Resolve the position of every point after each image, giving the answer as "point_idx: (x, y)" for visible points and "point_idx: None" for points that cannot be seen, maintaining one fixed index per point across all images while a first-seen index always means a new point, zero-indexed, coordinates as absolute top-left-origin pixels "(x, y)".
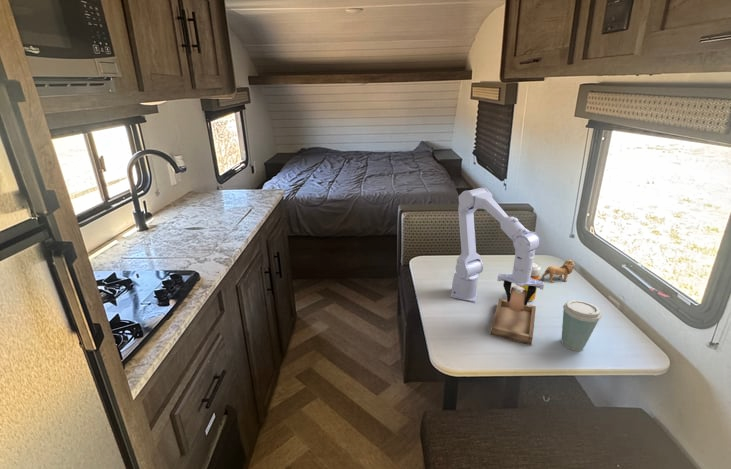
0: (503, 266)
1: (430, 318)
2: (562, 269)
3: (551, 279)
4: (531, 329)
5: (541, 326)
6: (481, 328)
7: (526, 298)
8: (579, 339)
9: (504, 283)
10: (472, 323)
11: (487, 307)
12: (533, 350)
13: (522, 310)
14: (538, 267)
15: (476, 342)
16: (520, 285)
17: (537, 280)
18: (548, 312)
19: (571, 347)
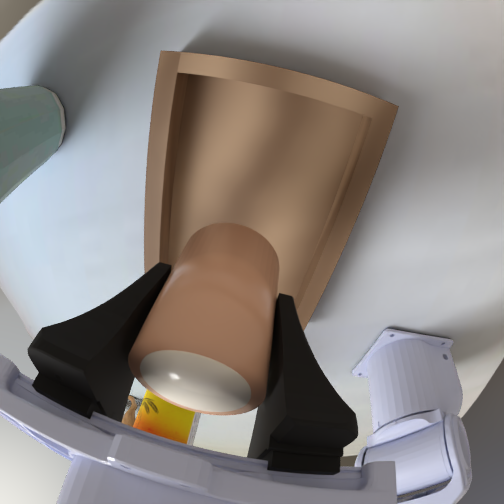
0: (245, 441)
1: None
2: None
3: (132, 404)
4: (160, 125)
5: (130, 209)
6: (415, 151)
7: (137, 301)
8: None
9: (335, 447)
10: (444, 188)
11: (343, 306)
12: (176, 17)
13: (190, 237)
14: None
15: (451, 43)
16: (142, 454)
17: (35, 439)
18: None
19: (37, 86)
